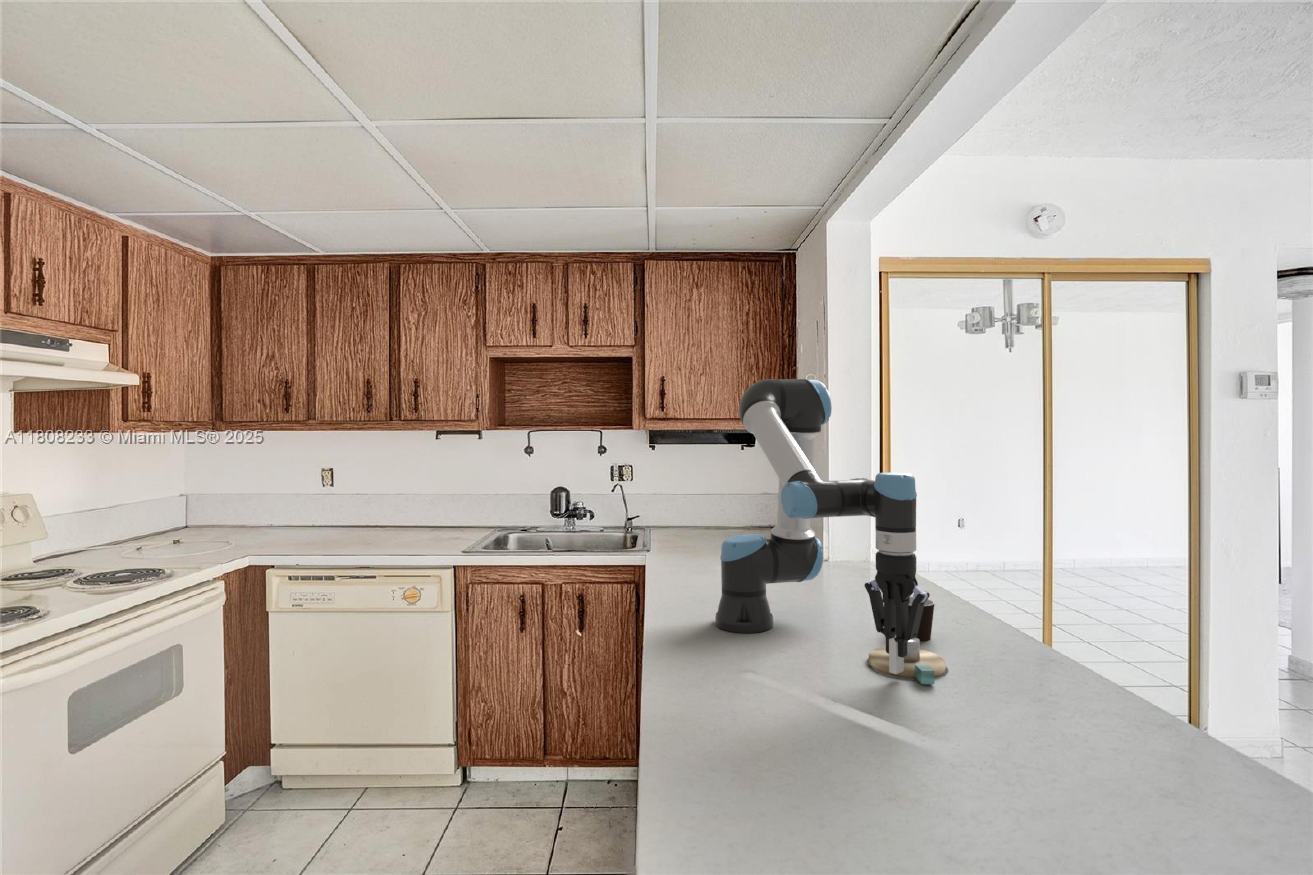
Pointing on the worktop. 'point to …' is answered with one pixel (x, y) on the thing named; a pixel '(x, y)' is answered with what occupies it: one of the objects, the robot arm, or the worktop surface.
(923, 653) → the platter
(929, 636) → the coffee mug
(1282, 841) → the worktop surface
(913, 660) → the cover
